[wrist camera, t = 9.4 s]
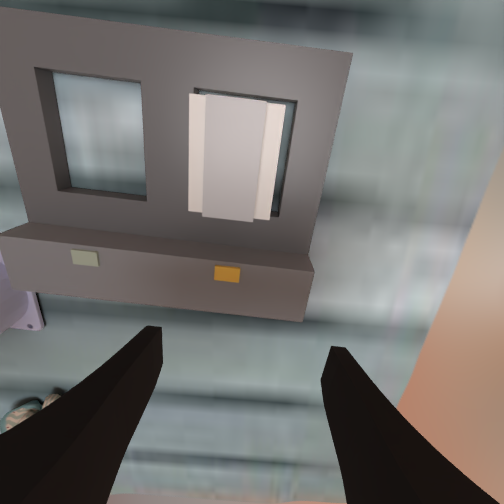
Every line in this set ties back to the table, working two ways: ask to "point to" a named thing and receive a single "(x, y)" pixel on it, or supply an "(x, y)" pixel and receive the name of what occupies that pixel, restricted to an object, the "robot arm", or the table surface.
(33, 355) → the table surface
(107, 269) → the socket panel
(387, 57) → the table surface
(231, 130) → the plug
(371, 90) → the table surface
